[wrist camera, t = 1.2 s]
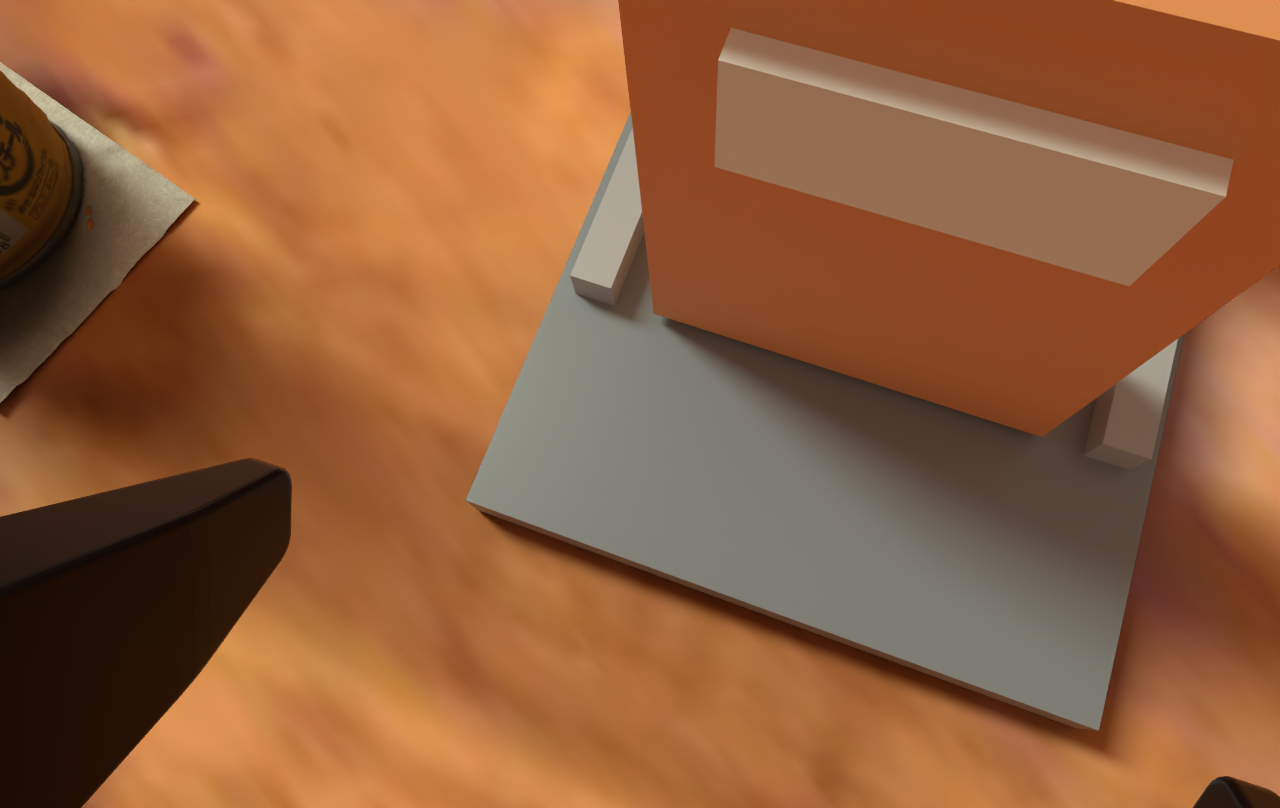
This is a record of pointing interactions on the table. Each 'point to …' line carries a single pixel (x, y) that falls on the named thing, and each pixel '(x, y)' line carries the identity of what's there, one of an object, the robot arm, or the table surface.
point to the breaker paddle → (957, 183)
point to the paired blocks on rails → (826, 485)
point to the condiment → (65, 222)
